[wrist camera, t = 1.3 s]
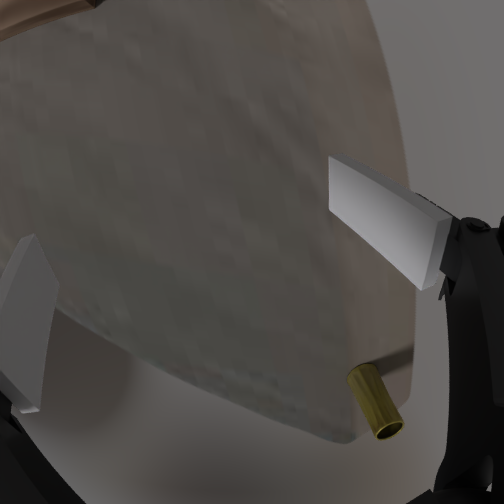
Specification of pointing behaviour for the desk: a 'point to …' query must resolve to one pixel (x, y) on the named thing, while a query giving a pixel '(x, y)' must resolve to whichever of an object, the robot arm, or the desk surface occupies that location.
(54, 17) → the walnut riser
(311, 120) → the desk surface
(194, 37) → the desk surface
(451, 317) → the robot arm
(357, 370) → the vase
